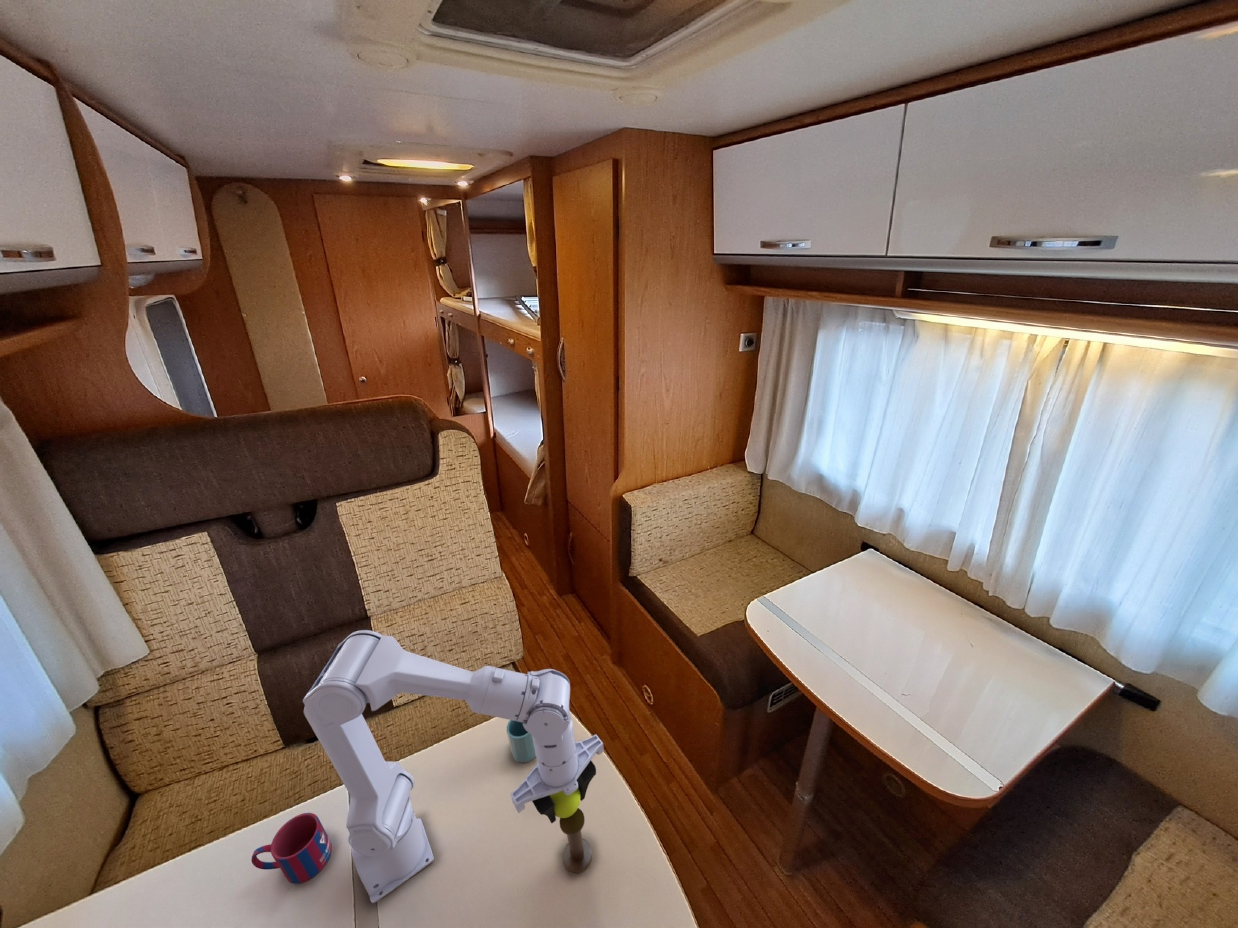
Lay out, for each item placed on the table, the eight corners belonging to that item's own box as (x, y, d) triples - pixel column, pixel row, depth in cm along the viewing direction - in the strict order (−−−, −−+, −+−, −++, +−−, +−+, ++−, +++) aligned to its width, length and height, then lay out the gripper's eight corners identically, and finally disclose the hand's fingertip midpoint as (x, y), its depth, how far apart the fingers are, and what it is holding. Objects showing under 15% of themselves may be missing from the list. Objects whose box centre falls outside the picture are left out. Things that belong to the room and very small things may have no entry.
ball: (559, 832, 72) (556, 812, 70) (543, 804, 76) (540, 784, 74) (587, 810, 74) (585, 790, 72) (571, 784, 78) (568, 764, 76)
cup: (324, 877, 77) (310, 853, 74) (255, 894, 75) (238, 870, 72) (337, 832, 83) (325, 807, 80) (274, 847, 81) (259, 822, 78)
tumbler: (519, 768, 91) (513, 743, 88) (507, 747, 95) (502, 723, 92) (543, 751, 94) (539, 727, 91) (531, 732, 98) (526, 708, 95)
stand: (573, 880, 75) (566, 843, 70) (558, 853, 78) (551, 816, 74) (597, 859, 77) (592, 822, 73) (582, 833, 80) (576, 797, 76)
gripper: (521, 803, 62) (535, 862, 68) (612, 738, 70) (618, 796, 76) (499, 761, 68) (513, 819, 73) (586, 705, 75) (593, 761, 81)
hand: (565, 805), depth 75 cm, fingers closed on ball, 4 cm apart
